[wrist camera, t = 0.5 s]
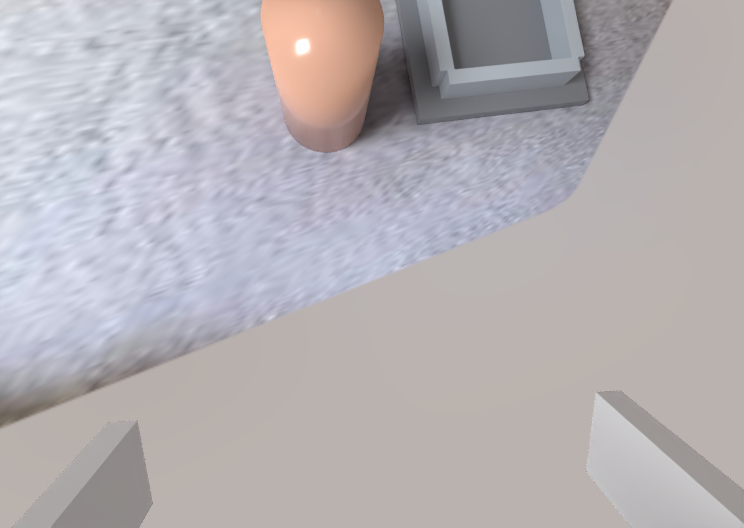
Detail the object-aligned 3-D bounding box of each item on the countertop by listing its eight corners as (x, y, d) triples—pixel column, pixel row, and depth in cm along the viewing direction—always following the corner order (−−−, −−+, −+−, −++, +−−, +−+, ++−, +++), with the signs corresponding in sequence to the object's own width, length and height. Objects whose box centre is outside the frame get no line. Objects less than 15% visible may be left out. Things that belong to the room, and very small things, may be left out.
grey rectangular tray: (387, -45, 36) (393, -80, 33) (549, -55, 38) (571, -90, 35) (417, 124, 36) (427, 106, 32) (582, 105, 37) (608, 85, 34)
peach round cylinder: (277, 78, 34) (252, -36, 23) (357, 70, 35) (373, -43, 23) (290, 157, 34) (270, 83, 22) (370, 147, 35) (393, 71, 23)
